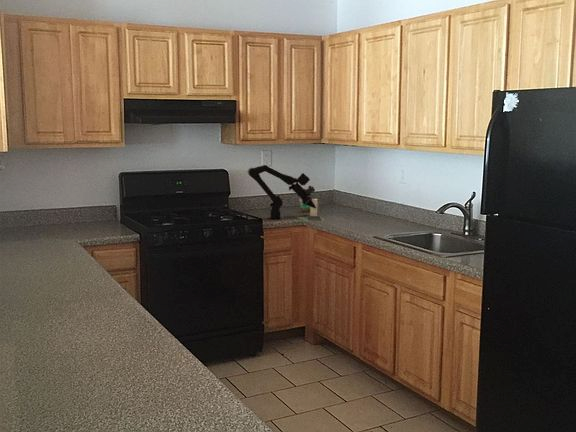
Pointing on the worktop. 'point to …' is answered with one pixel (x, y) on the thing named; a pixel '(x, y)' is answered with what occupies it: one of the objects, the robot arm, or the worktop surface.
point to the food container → (304, 207)
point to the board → (311, 218)
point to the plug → (314, 210)
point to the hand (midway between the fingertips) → (315, 207)
